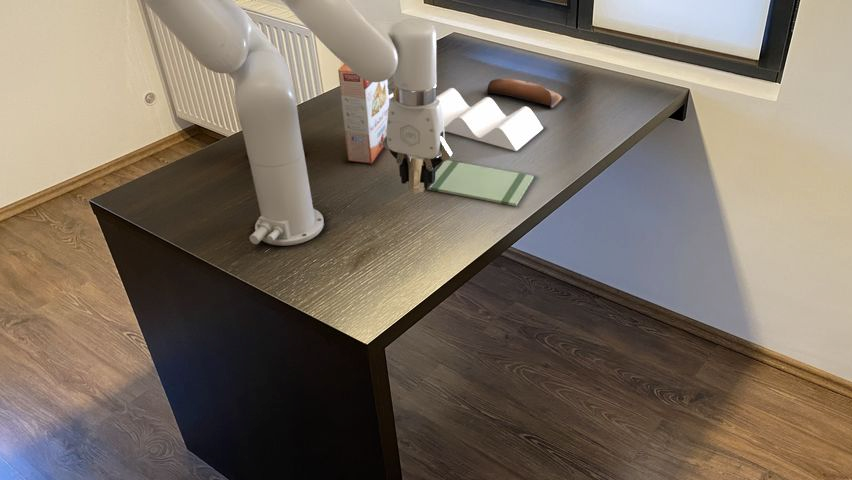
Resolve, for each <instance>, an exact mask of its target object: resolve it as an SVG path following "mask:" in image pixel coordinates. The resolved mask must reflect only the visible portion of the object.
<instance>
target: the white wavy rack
mask: <svg viewBox="0 0 852 480" xmlns="http://www.w3.org/2000/svg"><path fill="white" fill-rule="evenodd" d="M392 97H393V92H392V93H391V94H389V103H390V99H391V98H392ZM437 99H438V100H439V101H440V104H441V108H442V114H443V120H444V131H445V133H449V134H454V135H457V136H461V137H465V138H468V139H472V140H475V141H478V142H482V143H486V144H489V145H493V146H497V147H500V148H504V149H507V150H511V151H514V152H517V151H518V150H520V149H521V148H522V147H523V146H524V145H526V144H527V143H528V142H530V140H531V139H533V138H534V137H536V135H538V134H539V133H541V131H542V130H543V129H544V127H543V126H542V124H541V122H540V120H539V119H538V118H537V116H536V115H535V113H534V112H533V111H532V109H531V108H530V107H529V106H522V107H521V108H519V109H518V110H516V111H514V112H512V113H511V114H509V115H506V114H504V112H503V111H502V110H501V109H500V107H499V106H498V104H497V102H495V101H494V99H493V98H491V97H490V96H485V97H484V98H482V99H480V100H479V101H478V102H476V103H475V104H473V105H472V106H470V105H468V103H467V102H466V101H465V99H464V98H463V97H462V95H461V94H460V93H459V91H458V90H457V89H456V88H454V87H449V88H447V89H446V90H445V91H443V92H441V93H440V94H439V95H437Z"/></svg>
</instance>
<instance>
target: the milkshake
mask: <svg viewBox="0 0 852 480" xmlns="http://www.w3.org/2000/svg"><path fill="white" fill-rule="evenodd" d="M406 160H407V180H408V181H407V189H408V191H409V192H410V193H412V194H421V193H424V191H425V190H426V189H425V188H424V170H425V169H426V163H425V159H424V158H422V157H417V156H412V155H407V154H406Z"/></svg>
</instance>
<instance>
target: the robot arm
mask: <svg viewBox="0 0 852 480" xmlns="http://www.w3.org/2000/svg"><path fill="white" fill-rule="evenodd" d="M142 1H143V2H144V4H145V5H146V6H147V7H148V8H149V9H150V10H151V11H152V12H153V13H154V14H155V16H157V17H158V19H159V20H160V22H162V24H163V25H164V26H165V27H166V28H167V29H168V31H170V32H171V33H172V34H173V36H175V38H176V39H177V40H178V41H179V42H180V43H181V45H183V46H184V47H185V48H186V50H187V51H188V52H189V53H190V54H191V55H192V57H194V59H195V60H196V61H197V62H198V63H199V64H201V66H203V67H204V68H206V69H207V70H209V71H211V72H213V73H217V74H227V75H228V76H229V77H230V78H231V79H232V80H233V88H234V89H233V90H234V91H233V92H234V102H235V108H236V112H237V116H238V120H239V124H240V127H241V132H242V135H243V140H244V144H245V149H246V153H247V157H248V161H249V165H250V171H251V176H252V181H253V185H254V189H255V194H256V198H257V204H258V208H259V213H260V216H259V217H258V219H257V220H256V222H255V224H254V232H253V233H252V234H250V235H249V238H248V239H249V241H250V242H251V243H252V244H253V245H258V244H259V243H260V242H261V241H262V242H263V243H266V244H269V245H272V246H281V247H282V246H283V247H284V246H285V247H287V246H295V245H299V244H303V243H305V242H308V241H310V240H313V239H314V238H315V237H317V236H318V235H319V234H320V233H321V232H322V230H323V229H324V226H325V222H324V216H323V214H322V213H321V212H320V211H319V210H317V209H315V208H314V205H313V199H312V193H311V186H310V181H309V174H308V168H307V163H306V157H305V151H304V145H303V139H302V133H301V132H302V131H301V127H300V120H299V119H300V118H299V113H298V112H299V111H298V103H297V98H296V93H295V87H294V83H293V80H292V79H293V78H292V75H291V74H292V73H291V72H290V66H289V64H288V62H287V60H286V58H285V57H284V56H283V55H282V54H281V53H280V51H279V50H278V49H277V48H276V46H275V45H274V44H273V43H272V42H271V40H270V39H269V38H268V37H267V36H266V35H265V33H264V32H263V31H262V29H260V27H259V26H258V25H257V23H256V22H254V20H253V19H252V18H251V17H250V16H249V14H248V13H247V12H246V10H244V9H243V8H242V7H241V6H240V5H239V4H238V3H236V2H235V1H233V0H142ZM280 1H281V2H282V3H283V4H284V5H285V6H286V7H288V8H289V10H290V11H291V13H292V14H294V16H295V17H296V18H297V19H298V20H299V21H300V22H301V23H302V24H303V25H304V26H306V28H307V29H309V30H310V32H312V34H313V35H314V36H315V37H316V38H317V39H318V40H319V41H320V42H321V43H322V44H323V45H324V46H325V47H326V48H327V50H328V51H329V52H331V54H333V55H334V56H335V57H336V58H337V59H338V60H340V61H341V62H342V64H345V65H346V66H348V67H349V68H350V69H351V70H352V71H353V72H354V73H356V74H357V75H358V76H359V77H361V78H362V79H364V80H366V81H370V82H382V81H385V80H387V79H388V80H389V79H390V78H391V77H393V81H388V85H387V87H388V90H391V91H392V93H393V97H392V98H391V99H390V103H389V109H388V118H387V136H386V137H385V139H384V140H383V142H382V145H383V146H384V147H383V148H385V149H386V150H387V151H389V152H390V154H391V156H392V157H393V158H394V159H395V161H396V164H397V165H398V171H399V177H400V178H401V179H400V182H401V184H403V185H406V184H407V183H408V180H407V160H406V154H407V155H412V156H417V157H422V158H424V159H425V163H426V169H425V170H424V188H426V189H425V190H429V189H428V188H429V187H430V186H431V185H432V184H433V183H434V182H435V172H436V167H438V166H439V165H441V164H443V163H444V161H447V160H449V161H450V159H451V158H452V157H453V156H454V155H453V152H452V150H451V148H450V147H449V145H448V144H447V142H446V134H445V133H446V131H444V120H443V114H442V108H441V104H440V101H439V100H438V99H437V96H438V95H437V91H438V90H437V89H438V88H437V87H438V86H437V85H438V84H437V83H438V81H437V80H438V79H437V75H438V74H437V31H436V27H435V26H434V25H433V24H432V23H431V22H429V21H427V20H423V19H416V18H410V19H405V20H400V21H399V20H397V21H396V20H387V19H379V18H371V17H370V18H368V17H367V18H365V17H364V16H363V15H362V14H361V13H360V12H359V11H358V10H357V9H356V8H355V7H354V5H353V4H352V3H351V1H350V0H280ZM440 153H441V154H440Z"/></svg>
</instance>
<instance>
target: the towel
mask: <svg viewBox="0 0 852 480" xmlns="http://www.w3.org/2000/svg"><path fill="white" fill-rule="evenodd" d="M534 179H535V178H534V175H533V174H527V173H521V172H516V171H509V170H505V169H498V168H493V167H487V166H482V165H476V164H470V163H465V162H460V161H454V160H450V159H449V160H447V161H444V162H442V163H441V164H440V166H439V167H438V168H437V170H435V182H434V183H433V184H432V185H431V186H430V187H429V188H428V189H426V188H425V190H428V191H429V190H430V191H432V192H433V191H434V192H440V193H444V194H445V193H446V194H451V195H456V196H460V197H467V198H471V199H477V200H481V201H487V202H492V203H496V204H503V205H507V206H513V207H517V206H518V204H519V202H520V201H521V200H522V197H523V196H524V195H525V193H526V191H527V189H528V188H529V186H530V184H531V183H532V181H533V180H534Z"/></svg>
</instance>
